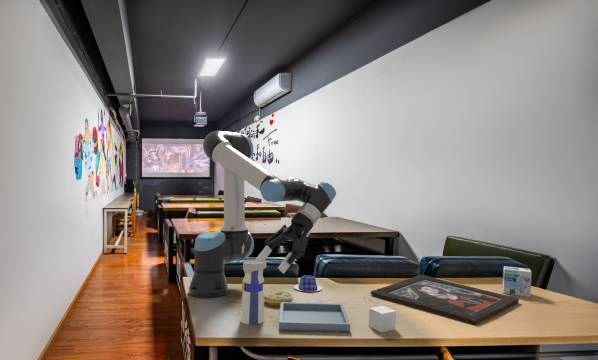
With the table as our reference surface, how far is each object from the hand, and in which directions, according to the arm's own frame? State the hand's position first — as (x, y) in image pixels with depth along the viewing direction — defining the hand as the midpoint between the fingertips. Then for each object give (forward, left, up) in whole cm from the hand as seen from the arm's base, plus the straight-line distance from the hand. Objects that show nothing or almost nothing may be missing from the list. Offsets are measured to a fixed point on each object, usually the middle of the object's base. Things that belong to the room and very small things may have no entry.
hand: (268, 266), depth 139 cm
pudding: (+15, +38, -18) cm, 45 cm away
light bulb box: (+105, +40, -18) cm, 114 cm away
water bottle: (-5, -2, -18) cm, 18 cm away
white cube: (+37, -5, -18) cm, 42 cm away
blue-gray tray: (+15, 0, -17) cm, 23 cm away
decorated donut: (+3, +18, -18) cm, 26 cm away
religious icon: (+69, +29, -18) cm, 77 cm away
